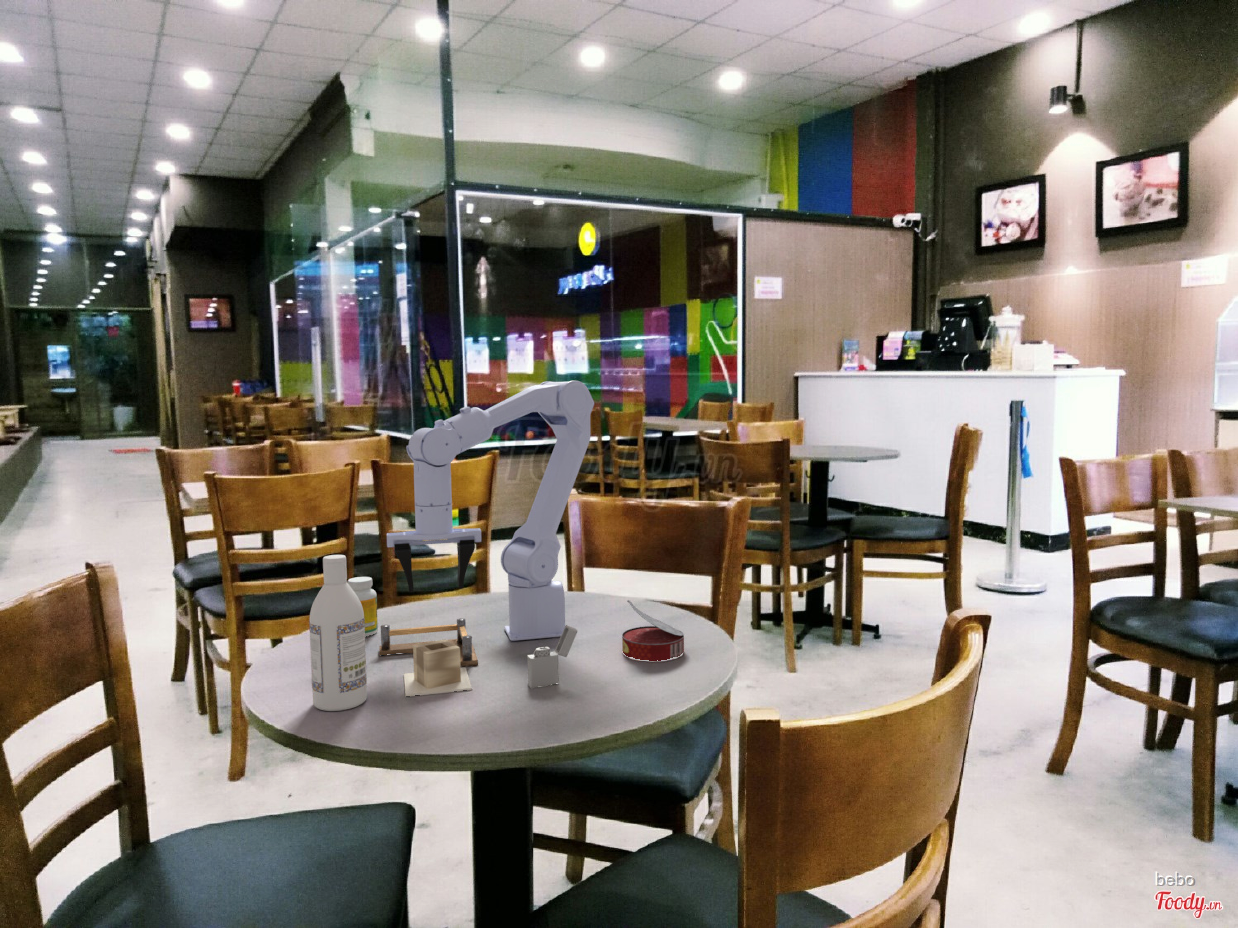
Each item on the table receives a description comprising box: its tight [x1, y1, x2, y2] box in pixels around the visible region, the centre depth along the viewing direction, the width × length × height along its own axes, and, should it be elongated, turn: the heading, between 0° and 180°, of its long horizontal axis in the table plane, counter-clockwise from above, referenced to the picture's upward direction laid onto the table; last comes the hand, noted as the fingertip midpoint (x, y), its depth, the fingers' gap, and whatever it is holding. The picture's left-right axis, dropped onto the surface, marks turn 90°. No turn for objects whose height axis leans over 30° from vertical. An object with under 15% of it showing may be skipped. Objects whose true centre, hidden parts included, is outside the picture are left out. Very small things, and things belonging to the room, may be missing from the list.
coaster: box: [403, 667, 473, 698], centre depth 120 cm, size 9×9×1 cm
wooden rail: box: [378, 618, 479, 668], centre depth 131 cm, size 14×12×4 cm
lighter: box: [526, 624, 578, 689], centre depth 119 cm, size 7×2×8 cm, turn 113°
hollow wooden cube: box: [412, 638, 461, 689], centre depth 120 cm, size 5×5×5 cm
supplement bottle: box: [347, 576, 379, 637], centre depth 144 cm, size 5×5×10 cm
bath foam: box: [308, 554, 368, 712], centre depth 112 cm, size 7×7×20 cm
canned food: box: [621, 599, 685, 661], centre depth 133 cm, size 11×10×10 cm
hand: (436, 588), depth 133 cm, fingers open, 7 cm apart
